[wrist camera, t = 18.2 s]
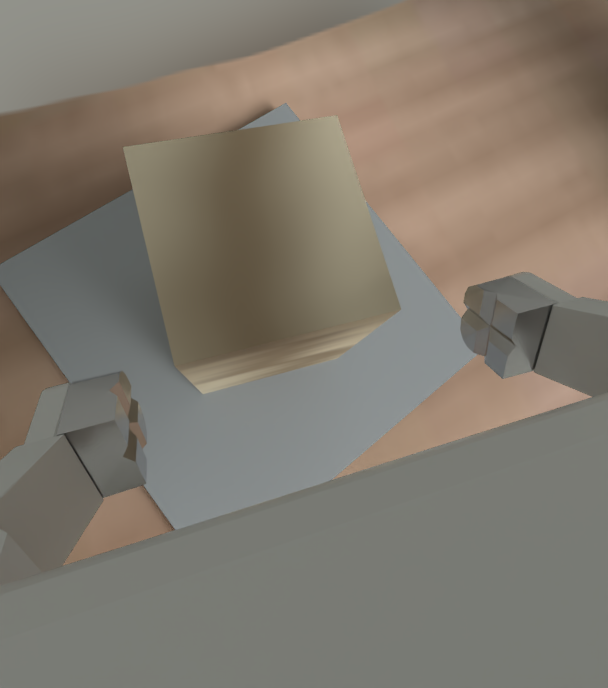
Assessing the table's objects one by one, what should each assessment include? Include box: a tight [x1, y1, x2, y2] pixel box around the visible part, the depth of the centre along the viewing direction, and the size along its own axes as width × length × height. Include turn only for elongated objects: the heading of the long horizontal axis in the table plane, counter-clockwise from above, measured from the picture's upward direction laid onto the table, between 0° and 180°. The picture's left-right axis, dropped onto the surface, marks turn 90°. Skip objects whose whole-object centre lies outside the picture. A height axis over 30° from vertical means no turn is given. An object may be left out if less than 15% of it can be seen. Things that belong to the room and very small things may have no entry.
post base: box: [0, 103, 477, 530], centre depth 17 cm, size 16×16×6 cm
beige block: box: [123, 115, 401, 394], centre depth 15 cm, size 6×6×8 cm
